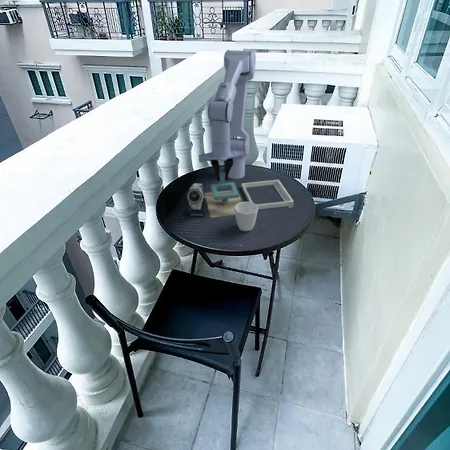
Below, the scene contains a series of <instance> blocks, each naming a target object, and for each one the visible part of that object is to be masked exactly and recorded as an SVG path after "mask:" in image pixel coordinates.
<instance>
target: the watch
mask: <svg viewBox="0 0 450 450" xmlns="http://www.w3.org/2000/svg"><path fill="white" fill-rule="evenodd" d="M203 188H204V187H203V184H202V183H193V184H192V185H191V186H190V188H189V190H188V191H187V193H186V200H187V202H188V204H189V207H188V209H187V216H190V217H199V218H200V217H201V218H206V215H207V213H208V212H209V210H208V204H207V203H203V201H204V199H205V195H204V190H203Z"/></svg>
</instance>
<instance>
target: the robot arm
mask: <svg viewBox="0 0 450 450" xmlns="http://www.w3.org/2000/svg"><path fill="white" fill-rule="evenodd" d="M256 56H257V55H256V52H255V50H254V49H252V50H234V49H233V50H230V49H227V50H226V51H225V53H224V55H223V67H224V69H225V75H224V80H223V81H222V82H220V83H219V85H218V87H217V90H216V93H215V96H214V100H212V101H211V102H209V103H208V106H207V118H208V121H209V122H208V123H209V127H210V128H211V129H210V130H211V151H210V152H207V153H202V154H201V153H200V154H198V161H199V163H204V162H210V165H211V166H212V168H213V170H214V172H215V176H216V181H217V182H219V181H220V176H219V171H220V163H219V161H220V162H223V167H224V169H223V170H224V171H225V181H228V179H232V180H238V179H242V178H244V177H245V175H246V172H245V171H246V157H247V156H248V155H249V153H250V149H251V148H250V147H251V143H250V141H251V139H250V138H251V137H250V134H249V133H248V132H247V131H246V130H245V129H244V124H245V114H246V104H247V97H248V95H247V94H248V87H249V81H251V80H254V78H255V77H254V76H255V72H256V63H257V62H256V60H257V59H256Z"/></svg>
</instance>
